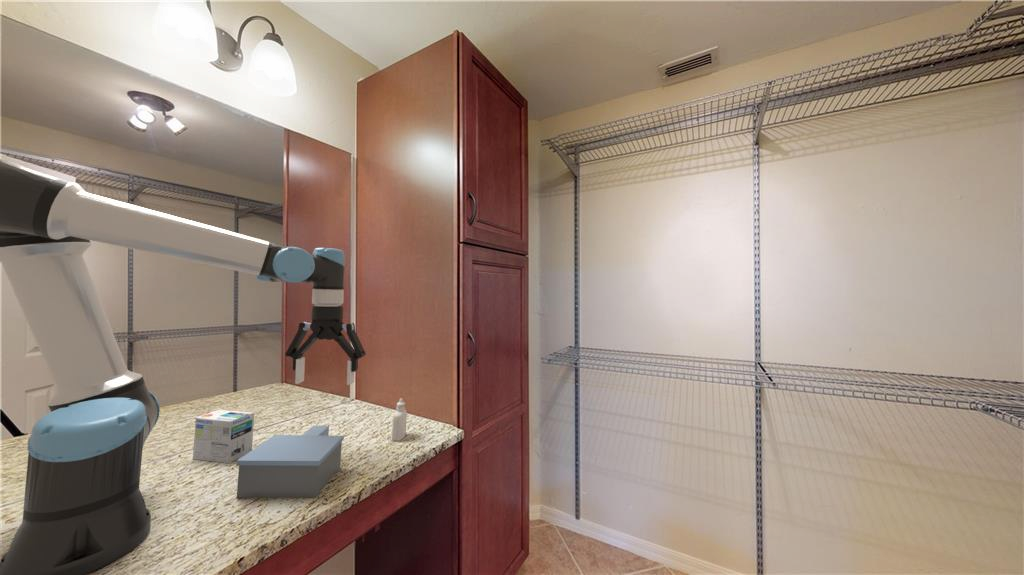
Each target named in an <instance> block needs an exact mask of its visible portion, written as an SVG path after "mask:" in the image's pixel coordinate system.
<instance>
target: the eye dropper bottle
mask: <svg viewBox="0 0 1024 575" xmlns="http://www.w3.org/2000/svg"><path fill="white" fill-rule="evenodd" d="M405 405H406V402H404V400H403V398H399V401H398V402H397V403H396V408H395V409H396V410H395V412H394V413H393V416H392V427H391V428H392V429H391V440H392V441H393V442H400V441H401V440H403V439H404V438H405V436H406V431H407V420H408V419H407V418H408V417H407V416H408V415H407V414H408V412H407V410H406V408H405V407H406V406H405Z"/></svg>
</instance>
